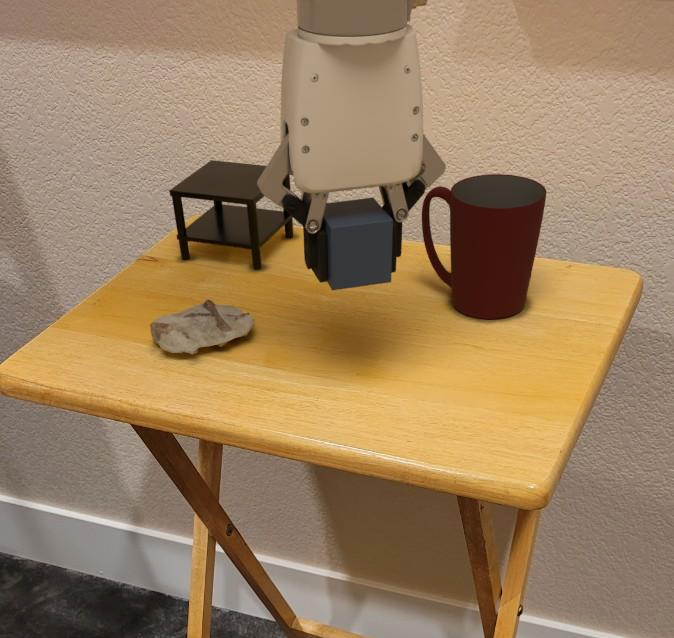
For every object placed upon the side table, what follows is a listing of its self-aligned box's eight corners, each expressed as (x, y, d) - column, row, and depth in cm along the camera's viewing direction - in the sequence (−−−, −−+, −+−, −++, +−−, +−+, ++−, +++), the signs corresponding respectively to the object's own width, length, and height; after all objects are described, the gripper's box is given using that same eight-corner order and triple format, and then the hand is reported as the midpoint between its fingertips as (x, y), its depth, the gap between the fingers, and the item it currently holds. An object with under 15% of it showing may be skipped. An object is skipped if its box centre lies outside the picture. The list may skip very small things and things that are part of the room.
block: (331, 291, 70) (330, 227, 67) (315, 265, 74) (313, 204, 70) (391, 282, 71) (393, 219, 68) (372, 258, 75) (373, 197, 71)
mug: (402, 306, 90) (404, 194, 82) (437, 272, 96) (443, 165, 88) (513, 330, 86) (527, 214, 78) (544, 293, 91) (559, 181, 84)
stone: (231, 312, 90) (227, 287, 88) (264, 340, 86) (262, 315, 84) (144, 338, 87) (138, 313, 85) (174, 369, 82) (169, 343, 80)
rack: (259, 270, 97) (253, 199, 92) (180, 259, 100) (169, 190, 95) (294, 236, 104) (290, 168, 99) (219, 226, 107) (211, 160, 101)
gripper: (450, -11, 64) (434, 240, 76) (218, 6, 61) (242, 266, 73) (491, 10, 59) (467, 276, 71) (239, 30, 55) (261, 305, 68)
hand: (353, 268), depth 72 cm, fingers closed on block, 5 cm apart
